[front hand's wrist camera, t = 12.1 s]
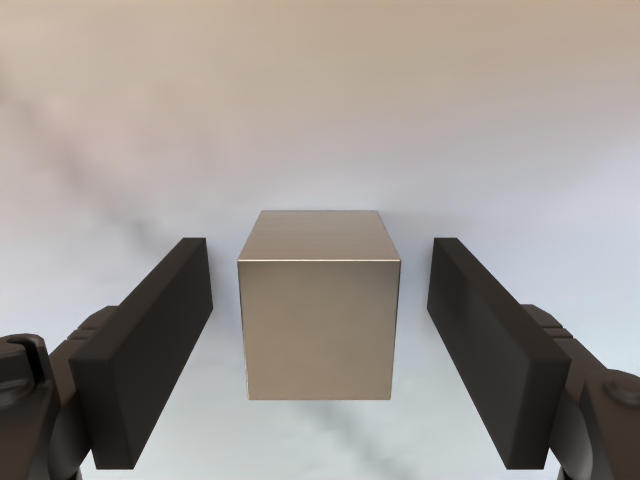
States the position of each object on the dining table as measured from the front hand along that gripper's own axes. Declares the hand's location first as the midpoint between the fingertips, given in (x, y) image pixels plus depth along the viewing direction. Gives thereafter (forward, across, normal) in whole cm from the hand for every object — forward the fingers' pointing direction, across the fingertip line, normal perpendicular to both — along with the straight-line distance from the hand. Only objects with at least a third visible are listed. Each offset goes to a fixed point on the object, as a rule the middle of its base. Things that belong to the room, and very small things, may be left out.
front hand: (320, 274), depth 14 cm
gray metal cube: (+1, 0, 0) cm, 1 cm away
